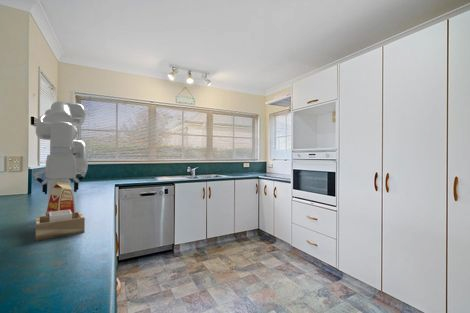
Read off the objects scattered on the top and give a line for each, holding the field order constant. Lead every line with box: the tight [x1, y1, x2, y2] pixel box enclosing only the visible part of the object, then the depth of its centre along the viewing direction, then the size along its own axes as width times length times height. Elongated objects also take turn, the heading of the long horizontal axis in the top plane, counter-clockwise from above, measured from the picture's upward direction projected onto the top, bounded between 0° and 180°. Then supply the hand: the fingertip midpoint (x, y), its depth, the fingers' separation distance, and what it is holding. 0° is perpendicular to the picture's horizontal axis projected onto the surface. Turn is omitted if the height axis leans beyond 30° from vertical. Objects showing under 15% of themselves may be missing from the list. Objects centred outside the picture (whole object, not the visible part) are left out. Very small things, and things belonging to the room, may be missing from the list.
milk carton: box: [45, 181, 77, 216], centre depth 103 cm, size 9×9×20 cm
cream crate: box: [49, 210, 72, 222], centre depth 91 cm, size 9×7×7 cm
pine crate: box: [35, 211, 86, 242], centre depth 91 cm, size 14×15×6 cm
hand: (61, 192), depth 92 cm, fingers open, 9 cm apart
